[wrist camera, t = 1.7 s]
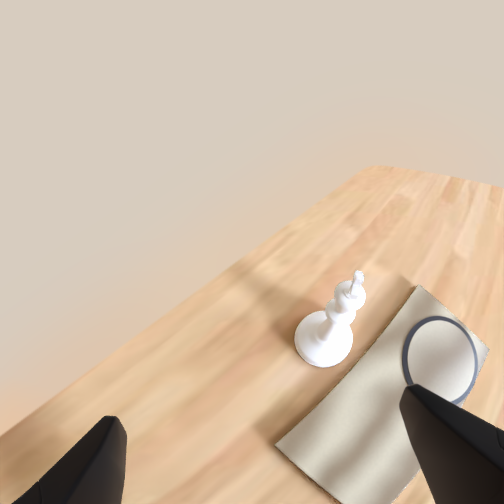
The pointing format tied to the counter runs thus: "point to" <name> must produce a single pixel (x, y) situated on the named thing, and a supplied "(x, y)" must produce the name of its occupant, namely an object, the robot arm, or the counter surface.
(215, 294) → the counter surface
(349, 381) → the grey plate with ring
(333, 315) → the chess piece
